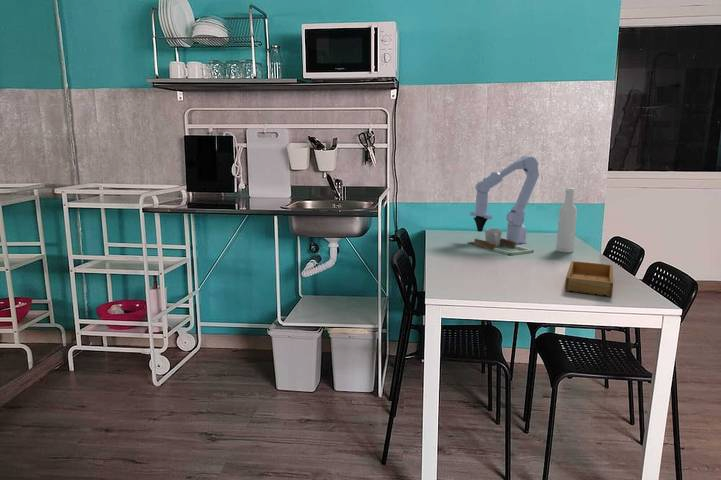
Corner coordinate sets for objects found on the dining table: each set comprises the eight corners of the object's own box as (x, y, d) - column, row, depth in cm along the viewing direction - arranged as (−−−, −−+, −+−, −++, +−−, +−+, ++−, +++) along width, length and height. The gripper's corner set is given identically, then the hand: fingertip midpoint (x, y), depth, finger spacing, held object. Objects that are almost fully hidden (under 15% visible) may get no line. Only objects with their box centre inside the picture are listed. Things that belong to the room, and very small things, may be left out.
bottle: (570, 249, 260) (576, 187, 254) (575, 253, 252) (581, 189, 246) (553, 249, 260) (559, 187, 255) (558, 252, 253) (563, 188, 247)
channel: (495, 242, 274) (496, 236, 273) (515, 247, 262) (515, 241, 261) (474, 244, 267) (474, 239, 267) (493, 250, 255) (493, 244, 255)
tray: (570, 273, 216) (571, 259, 215) (611, 278, 210) (613, 263, 209) (564, 293, 188) (565, 277, 187) (611, 299, 182) (613, 282, 181)
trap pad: (488, 240, 279) (488, 240, 278) (495, 242, 274) (495, 241, 274) (467, 242, 272) (467, 242, 272) (473, 244, 268) (473, 244, 268)
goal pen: (516, 248, 261) (516, 245, 261) (533, 252, 251) (533, 250, 251) (493, 250, 255) (493, 248, 254) (510, 255, 245) (510, 252, 245)
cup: (503, 248, 260) (505, 232, 258) (487, 248, 260) (488, 232, 259) (498, 244, 271) (499, 228, 269) (482, 243, 271) (483, 228, 269)
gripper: (466, 203, 275) (464, 229, 278) (484, 206, 263) (483, 234, 265) (477, 202, 278) (475, 228, 281) (495, 206, 266) (494, 233, 268)
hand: (479, 231), depth 273 cm, fingers closed
